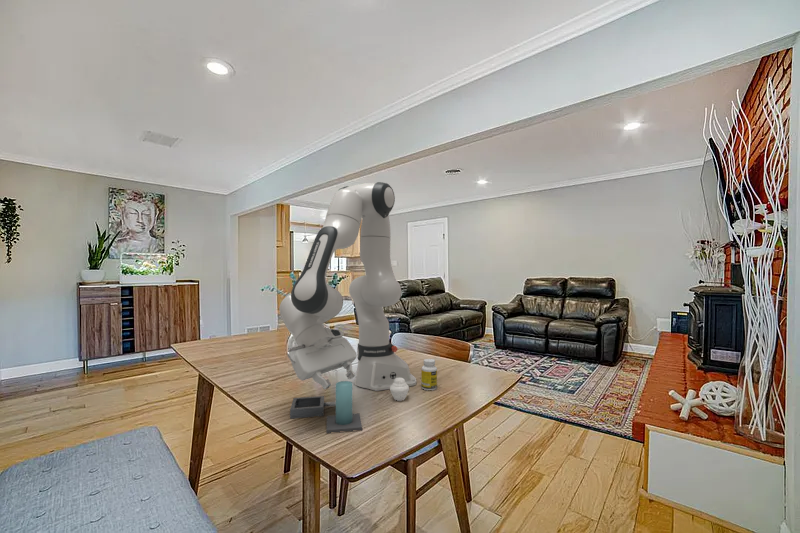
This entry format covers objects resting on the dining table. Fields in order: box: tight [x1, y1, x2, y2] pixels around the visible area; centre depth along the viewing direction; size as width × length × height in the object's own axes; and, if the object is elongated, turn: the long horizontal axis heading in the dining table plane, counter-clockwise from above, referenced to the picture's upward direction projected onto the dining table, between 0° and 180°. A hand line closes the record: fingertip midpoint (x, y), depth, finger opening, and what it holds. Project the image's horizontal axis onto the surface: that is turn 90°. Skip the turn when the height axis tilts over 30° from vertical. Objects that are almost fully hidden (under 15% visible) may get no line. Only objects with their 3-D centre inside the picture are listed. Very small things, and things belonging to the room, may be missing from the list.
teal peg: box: [335, 380, 353, 425], centre depth 95 cm, size 4×4×10 cm
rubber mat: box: [325, 413, 363, 434], centre depth 94 cm, size 9×9×1 cm
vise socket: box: [289, 395, 336, 420], centre depth 104 cm, size 16×9×2 cm, turn 101°
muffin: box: [389, 377, 410, 402], centre depth 113 cm, size 6×6×7 cm
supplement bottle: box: [420, 358, 438, 391], centre depth 123 cm, size 5×5×10 cm
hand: (340, 382), depth 96 cm, fingers open, 8 cm apart
